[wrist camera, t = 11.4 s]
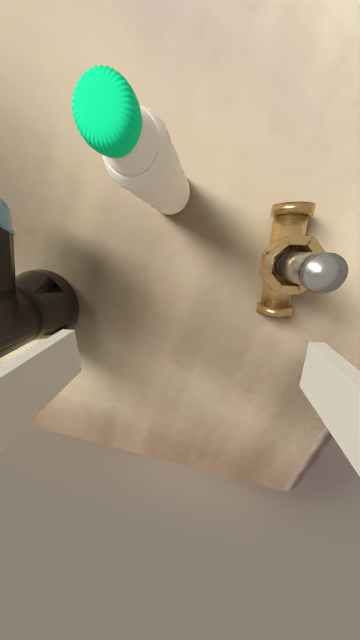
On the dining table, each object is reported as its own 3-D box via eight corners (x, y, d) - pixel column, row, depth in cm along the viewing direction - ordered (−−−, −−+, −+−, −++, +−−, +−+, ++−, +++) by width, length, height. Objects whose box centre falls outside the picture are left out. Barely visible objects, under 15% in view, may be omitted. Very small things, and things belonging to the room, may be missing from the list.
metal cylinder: (272, 277, 34) (300, 292, 23) (276, 250, 33) (308, 252, 21) (299, 279, 33) (342, 294, 22) (305, 251, 32) (353, 253, 21)
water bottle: (198, 192, 37) (172, 97, 14) (170, 224, 39) (107, 189, 16) (170, 159, 36) (89, -1, 13) (143, 194, 38) (33, 111, 15)
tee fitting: (291, 309, 41) (310, 324, 33) (247, 306, 42) (255, 320, 34) (312, 209, 35) (341, 197, 27) (261, 208, 36) (274, 197, 28)
